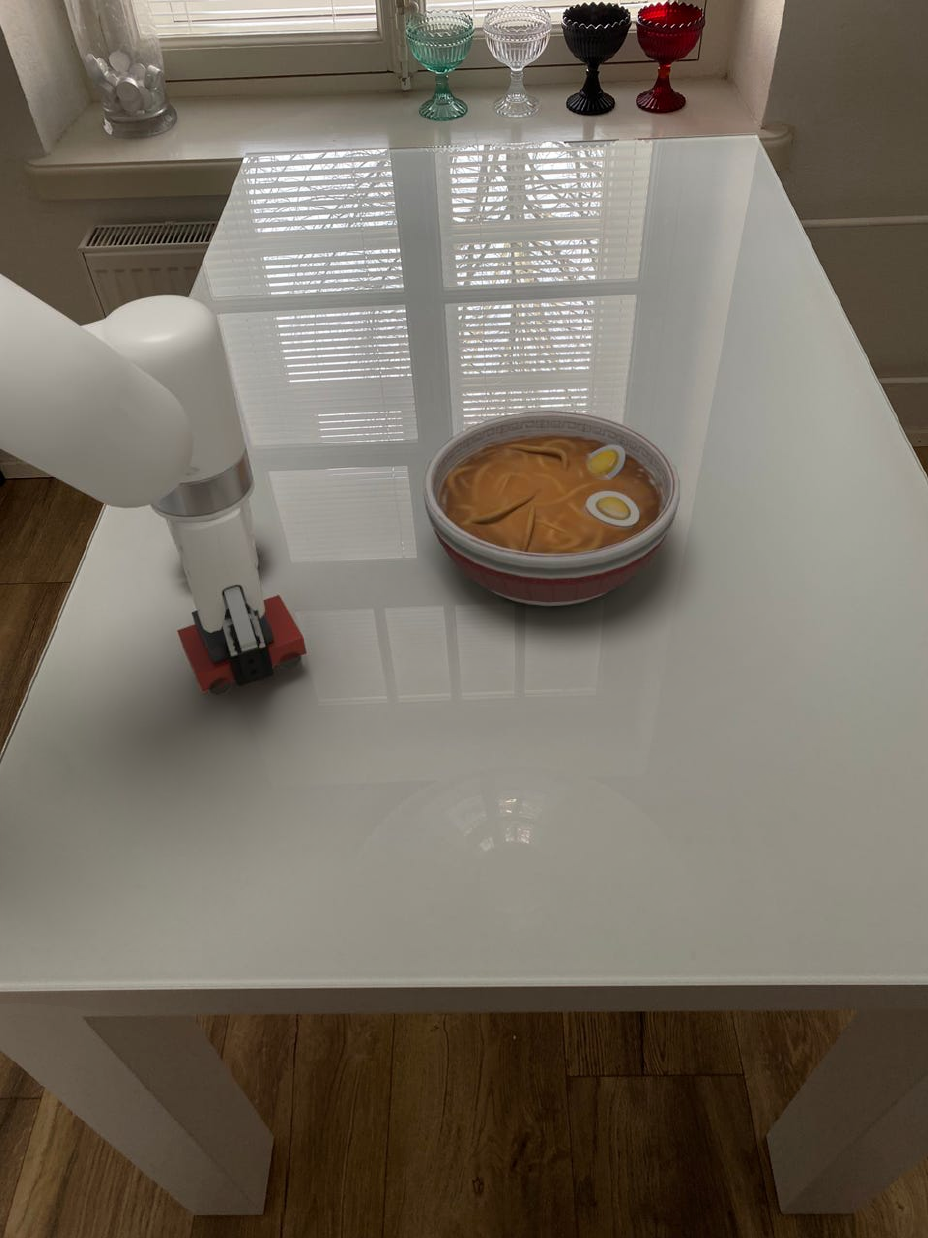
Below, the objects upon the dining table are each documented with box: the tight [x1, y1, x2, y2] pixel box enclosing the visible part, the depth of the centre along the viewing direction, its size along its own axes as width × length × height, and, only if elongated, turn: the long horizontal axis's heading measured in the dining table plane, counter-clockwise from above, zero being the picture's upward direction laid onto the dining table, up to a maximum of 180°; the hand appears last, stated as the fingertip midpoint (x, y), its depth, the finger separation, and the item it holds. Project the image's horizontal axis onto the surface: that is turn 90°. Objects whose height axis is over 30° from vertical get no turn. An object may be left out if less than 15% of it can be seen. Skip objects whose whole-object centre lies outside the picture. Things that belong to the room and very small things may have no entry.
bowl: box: [422, 410, 681, 607], centre depth 89 cm, size 23×23×10 cm
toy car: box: [176, 594, 308, 696], centre depth 80 cm, size 9×5×6 cm
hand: (245, 649), depth 81 cm, fingers closed on toy car, 6 cm apart
